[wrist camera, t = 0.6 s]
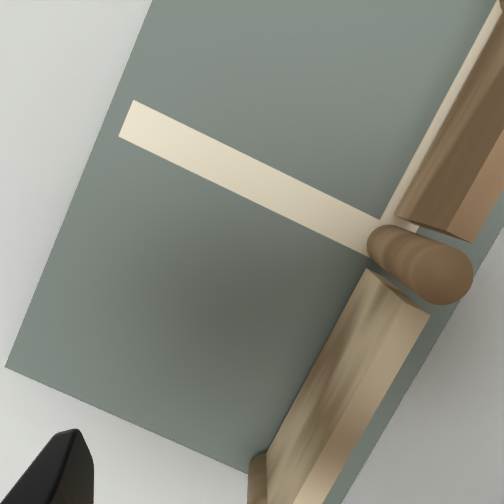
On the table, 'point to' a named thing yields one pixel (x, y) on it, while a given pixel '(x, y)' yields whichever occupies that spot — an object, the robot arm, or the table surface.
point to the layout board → (247, 211)
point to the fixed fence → (452, 187)
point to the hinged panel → (338, 395)
